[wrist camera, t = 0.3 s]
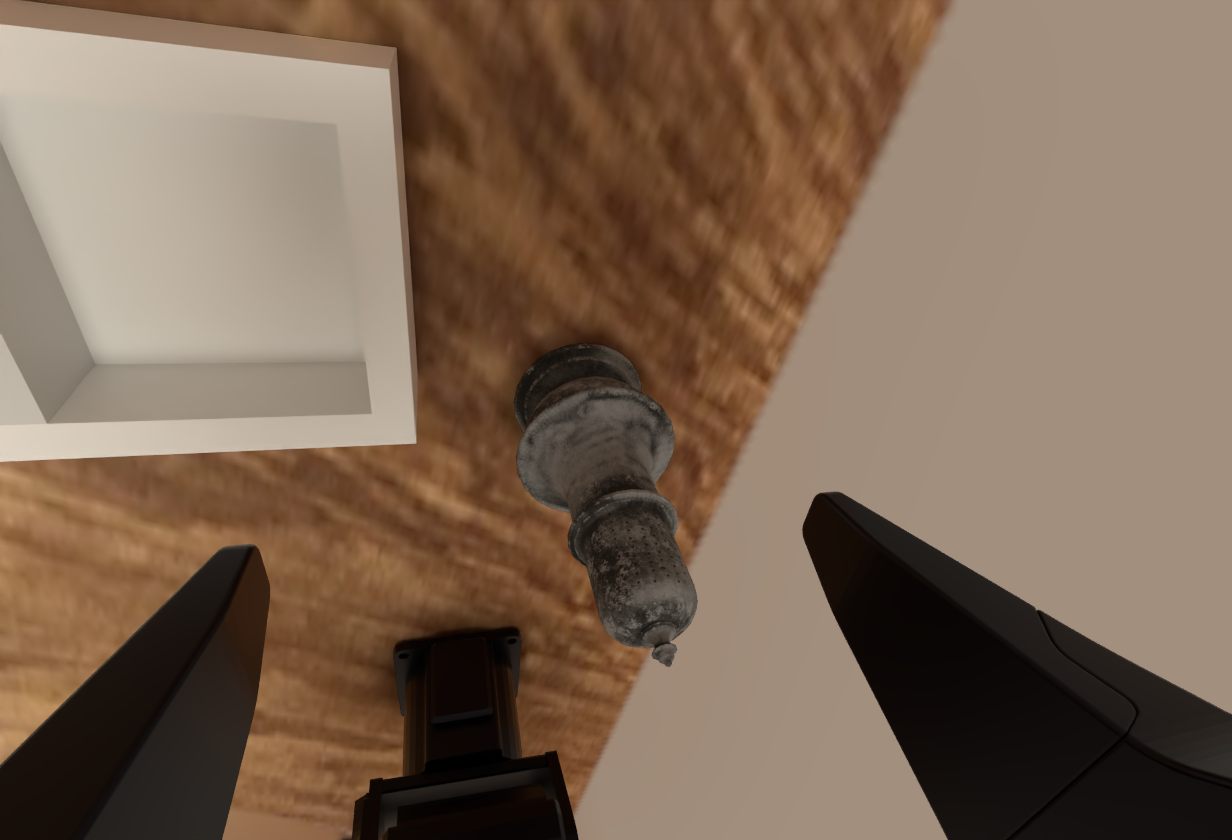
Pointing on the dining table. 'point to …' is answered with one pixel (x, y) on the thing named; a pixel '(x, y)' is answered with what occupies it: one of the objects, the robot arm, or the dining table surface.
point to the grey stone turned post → (608, 488)
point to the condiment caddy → (199, 239)
